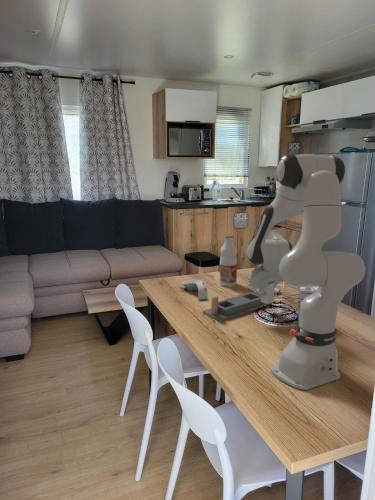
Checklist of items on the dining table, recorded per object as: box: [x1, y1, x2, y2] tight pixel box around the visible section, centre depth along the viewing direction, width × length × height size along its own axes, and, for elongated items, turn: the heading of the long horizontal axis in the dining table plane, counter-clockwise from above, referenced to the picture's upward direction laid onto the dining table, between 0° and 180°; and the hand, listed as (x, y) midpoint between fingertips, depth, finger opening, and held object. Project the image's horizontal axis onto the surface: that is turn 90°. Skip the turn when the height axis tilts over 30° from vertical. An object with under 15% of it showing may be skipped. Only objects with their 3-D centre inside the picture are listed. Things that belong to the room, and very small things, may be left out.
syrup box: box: [297, 286, 315, 322], centre depth 154 cm, size 6×6×14 cm
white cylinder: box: [261, 281, 275, 304], centre depth 163 cm, size 4×4×10 cm
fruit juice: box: [219, 234, 238, 288], centre depth 201 cm, size 9×9×28 cm
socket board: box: [202, 289, 266, 322], centre depth 169 cm, size 33×12×9 cm, turn 126°
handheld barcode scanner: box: [182, 279, 208, 301], centre depth 191 cm, size 24×12×7 cm, turn 16°
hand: (267, 294), depth 163 cm, fingers closed on white cylinder, 4 cm apart
